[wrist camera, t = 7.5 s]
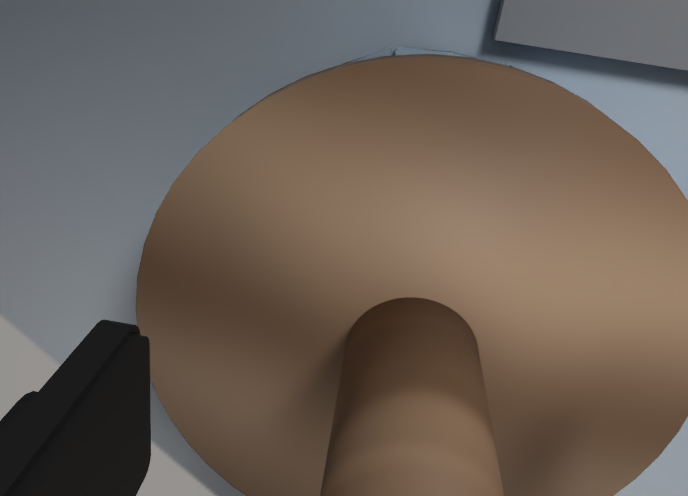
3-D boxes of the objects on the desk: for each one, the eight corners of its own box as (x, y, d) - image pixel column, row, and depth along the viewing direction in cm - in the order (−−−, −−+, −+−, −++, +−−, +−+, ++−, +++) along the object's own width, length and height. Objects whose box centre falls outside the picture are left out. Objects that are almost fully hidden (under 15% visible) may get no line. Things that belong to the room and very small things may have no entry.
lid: (151, 7, 11) (-183, 61, 5) (800, 108, 11) (1349, 308, 4) (154, 473, 16) (-6, 790, 10) (591, 552, 16) (709, 934, 10)
